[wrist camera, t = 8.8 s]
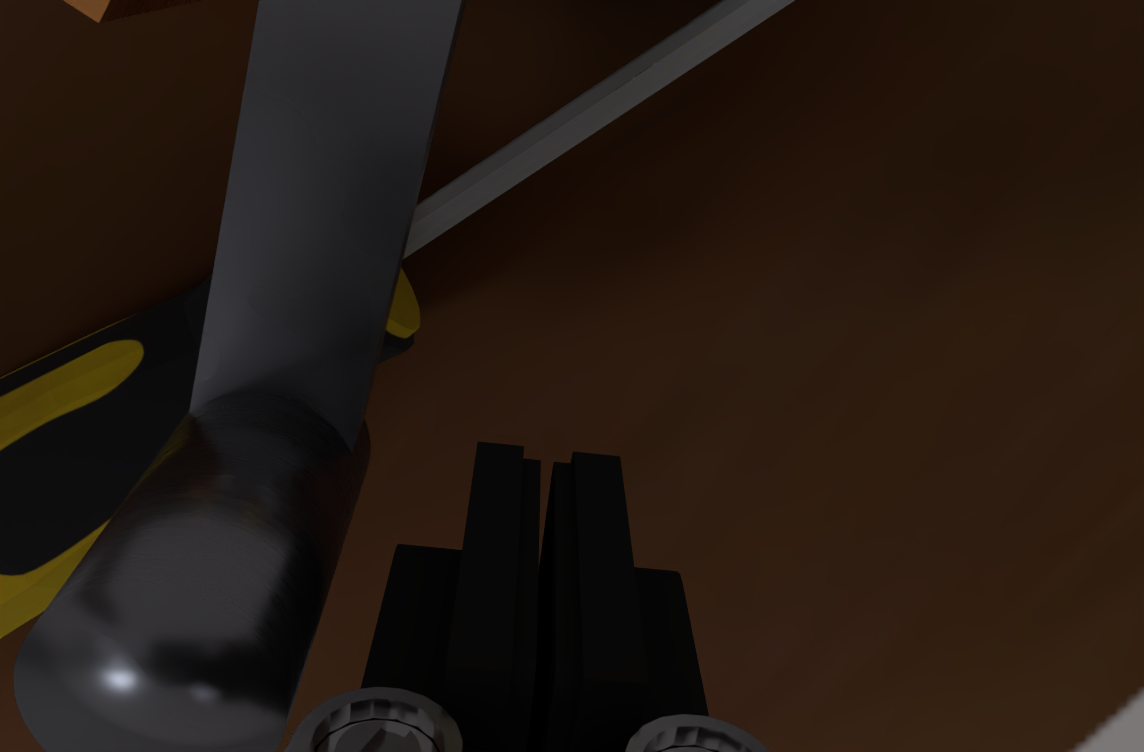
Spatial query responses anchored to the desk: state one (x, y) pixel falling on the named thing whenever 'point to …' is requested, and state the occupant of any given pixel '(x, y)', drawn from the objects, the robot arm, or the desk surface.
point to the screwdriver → (174, 332)
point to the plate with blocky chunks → (121, 7)
